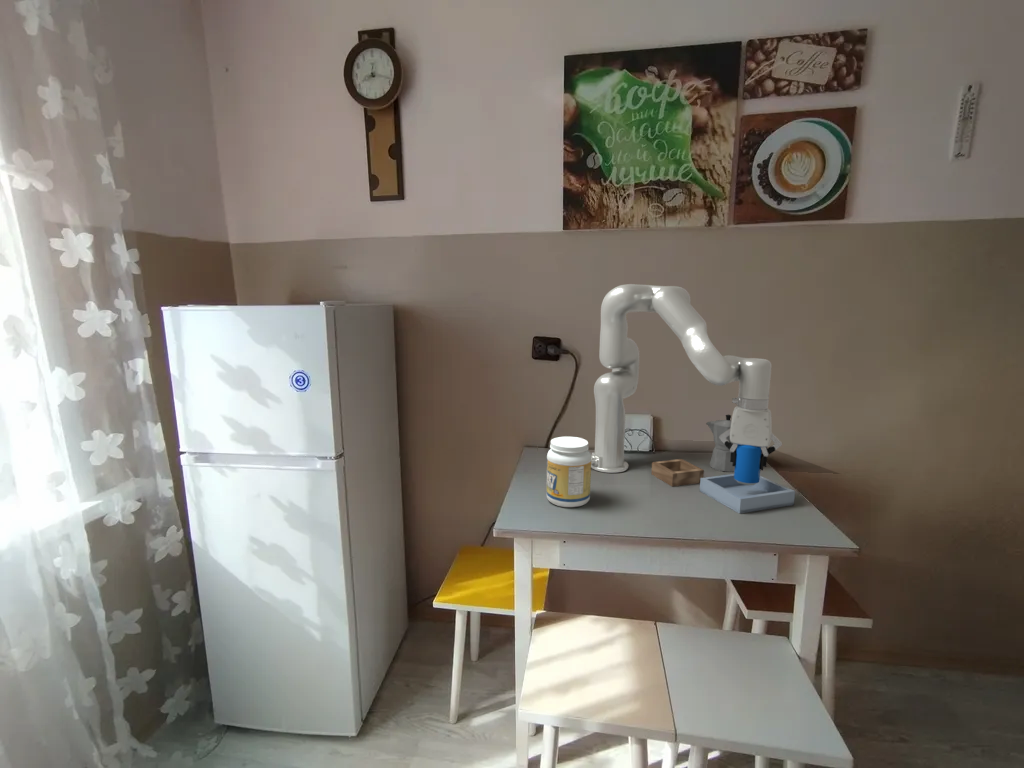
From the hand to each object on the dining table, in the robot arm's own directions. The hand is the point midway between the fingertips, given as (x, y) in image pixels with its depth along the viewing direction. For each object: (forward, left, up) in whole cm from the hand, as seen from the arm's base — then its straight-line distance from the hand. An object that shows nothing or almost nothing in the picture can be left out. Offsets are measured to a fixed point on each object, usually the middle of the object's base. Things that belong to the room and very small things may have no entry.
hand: (747, 466), depth 140 cm
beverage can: (0, 0, -5) cm, 5 cm away
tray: (0, 0, -9) cm, 9 cm away
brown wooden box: (-9, +19, -9) cm, 23 cm away
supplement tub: (-48, +14, -10) cm, 51 cm away
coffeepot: (+13, +22, -10) cm, 27 cm away
